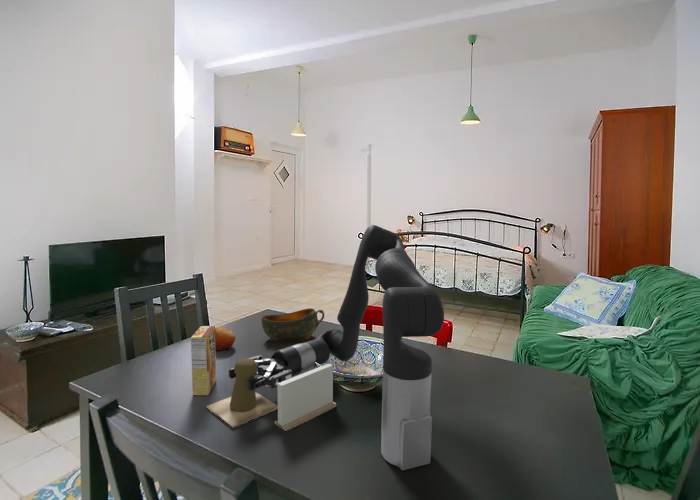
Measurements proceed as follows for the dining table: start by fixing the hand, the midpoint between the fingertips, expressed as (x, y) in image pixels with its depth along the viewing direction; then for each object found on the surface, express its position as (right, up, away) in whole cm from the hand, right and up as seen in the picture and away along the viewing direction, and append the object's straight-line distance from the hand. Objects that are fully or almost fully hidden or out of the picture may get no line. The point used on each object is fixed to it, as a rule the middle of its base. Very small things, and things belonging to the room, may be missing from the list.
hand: (238, 379), depth 93 cm
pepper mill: (+1, -7, +2) cm, 7 cm away
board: (0, -7, +2) cm, 7 cm away
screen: (+16, -8, -1) cm, 18 cm away
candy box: (-12, -6, +12) cm, 18 cm away
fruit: (-16, -2, +39) cm, 42 cm away
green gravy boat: (+6, -1, +49) cm, 49 cm away
